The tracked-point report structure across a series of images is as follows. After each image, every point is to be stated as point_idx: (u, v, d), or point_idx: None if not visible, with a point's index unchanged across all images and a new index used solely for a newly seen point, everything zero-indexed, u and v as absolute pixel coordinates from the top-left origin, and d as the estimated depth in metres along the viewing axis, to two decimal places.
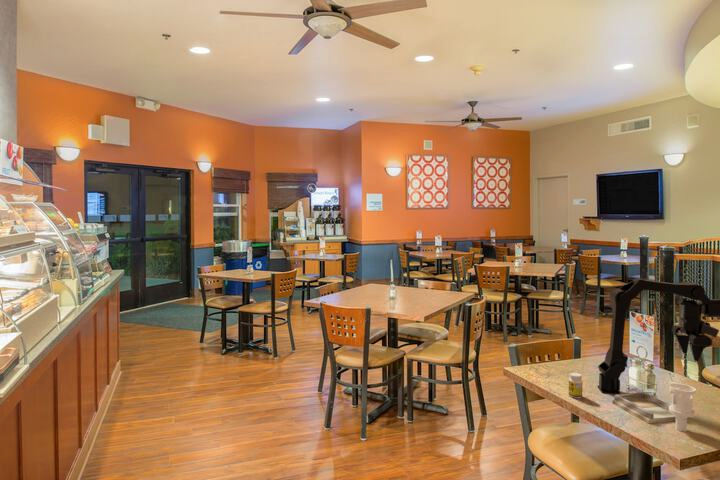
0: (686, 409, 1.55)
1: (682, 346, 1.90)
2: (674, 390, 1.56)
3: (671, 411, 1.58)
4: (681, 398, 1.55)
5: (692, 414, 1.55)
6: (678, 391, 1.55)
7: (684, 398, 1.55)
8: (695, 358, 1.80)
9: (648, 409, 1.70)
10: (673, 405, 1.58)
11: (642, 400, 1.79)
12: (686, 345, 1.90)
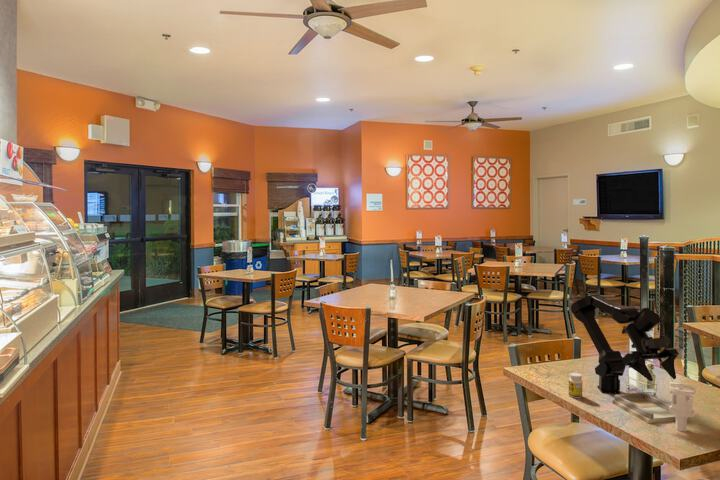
0: (686, 409, 1.55)
1: (668, 372, 1.69)
2: (674, 390, 1.56)
3: (671, 411, 1.58)
4: (681, 398, 1.55)
5: (692, 414, 1.55)
6: (678, 391, 1.55)
7: (684, 398, 1.55)
8: (647, 378, 1.66)
9: (648, 409, 1.70)
10: (673, 405, 1.58)
11: (642, 400, 1.79)
12: (670, 369, 1.68)
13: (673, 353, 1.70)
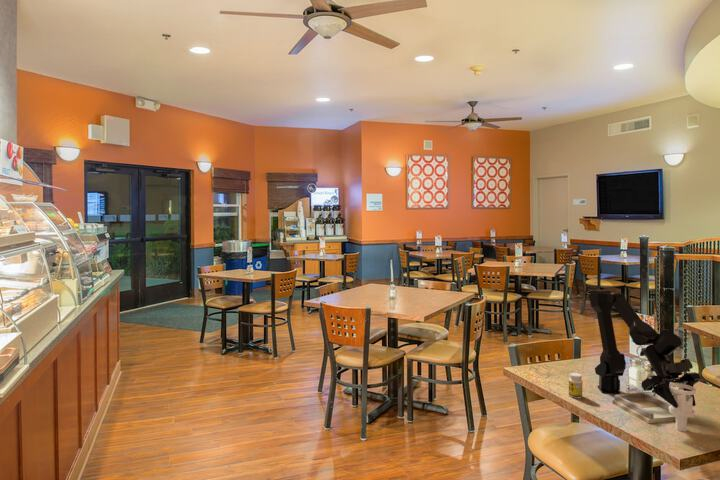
0: (686, 409, 1.55)
1: None
2: (674, 390, 1.56)
3: (671, 411, 1.58)
4: (681, 398, 1.55)
5: (692, 414, 1.55)
6: (678, 391, 1.55)
7: (684, 398, 1.54)
8: (672, 404, 1.57)
9: (648, 409, 1.70)
10: None
11: (642, 400, 1.79)
12: None
13: (695, 378, 1.61)
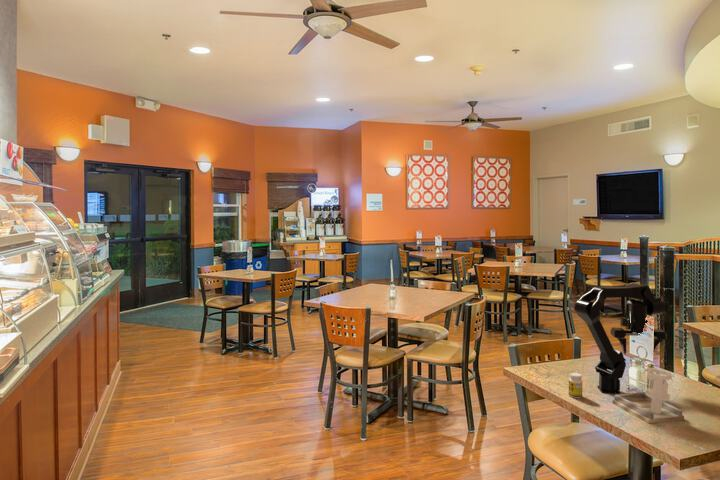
0: (662, 393, 1.65)
1: None
2: (652, 375, 1.66)
3: (648, 395, 1.67)
4: (658, 383, 1.65)
5: (667, 398, 1.65)
6: (655, 376, 1.65)
7: (660, 383, 1.64)
8: None
9: (648, 409, 1.70)
10: (650, 389, 1.67)
11: (642, 400, 1.79)
12: None
13: None
